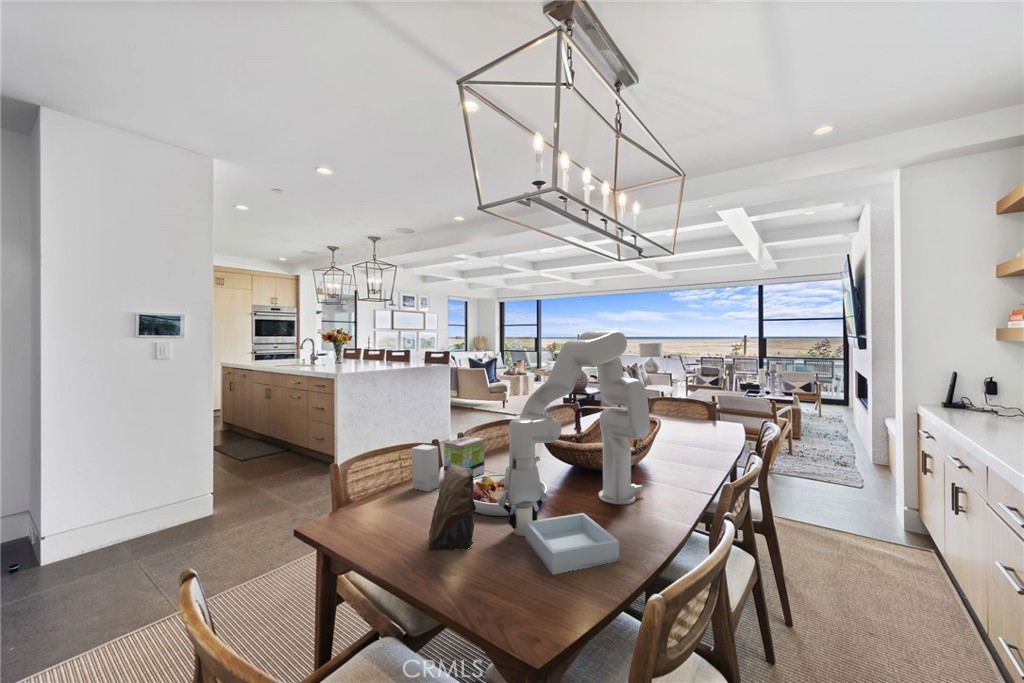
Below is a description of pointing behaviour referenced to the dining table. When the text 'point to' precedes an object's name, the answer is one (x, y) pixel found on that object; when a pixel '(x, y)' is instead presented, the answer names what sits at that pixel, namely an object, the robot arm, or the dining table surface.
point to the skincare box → (425, 467)
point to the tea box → (465, 454)
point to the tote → (571, 543)
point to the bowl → (492, 494)
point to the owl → (453, 511)
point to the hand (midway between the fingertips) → (522, 524)
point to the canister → (522, 517)
